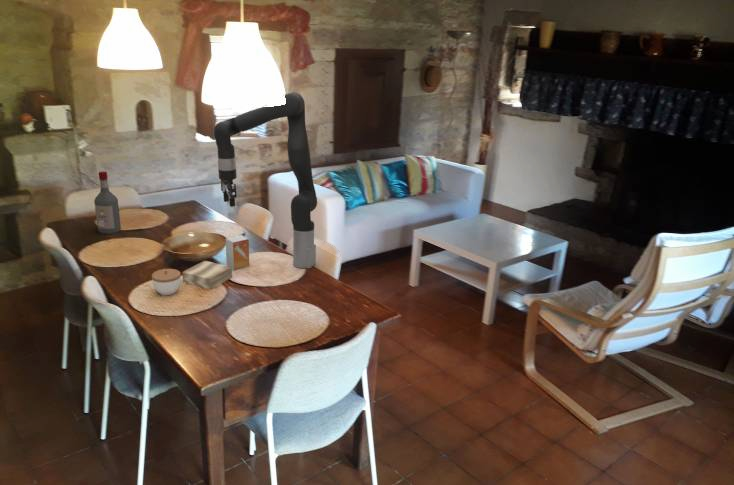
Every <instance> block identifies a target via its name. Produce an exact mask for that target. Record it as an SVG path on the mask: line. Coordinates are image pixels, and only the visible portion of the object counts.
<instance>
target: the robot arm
mask: <svg viewBox="0 0 734 485" xmlns="http://www.w3.org/2000/svg"><path fill="white" fill-rule="evenodd" d="M284 95H285V98H286V104H285V105H281V106H274V107H264V106H261V107H259V108H255V109H251V110H249V111H246V112H244V113H241V114H238V115H237V116H234V117H231V118H228V119H225V120H222V121H219V122H218V123H217V124H216V125H215V126H214V129H213V135H214V140H215V143H216V147H217V167H218V168H217V169H218V170H217V171H218V179H219V180H220V191H221V192H222V194H223V202H229V206H230V207H232V208H233V207H235V206H236V198H237V196H238V194H237V185H236V183H234V180H236V179H237V163H236V155H235V154H236V152H235V145H233V144H232V139H231V137H233V136H235V135H237V134H239V133H240V134H241V133H242V132H243V133H244V132H247V131H250V130H252V129H255V128H257V127H259V126H262V125H264V124H267V123H268V122H271V121H274V120H276V119H281V118H286V117H287V118H286V119H287V124H288V132H287V134H288V135H287V146H286V147H287V148H286V149H287V157H288V162H289V166H290V169H291V171H292V172H293V174H294V176H295V179H296V182H297V187H298V194H297V195H294V196H293V198H292V199H291V202H290V220H291V224H292V232H293V234H292V238H293V239H292V240H293V242H292V244H293V246H292V247H293V250H292V262H293V263H292V264H293V266H294V267H295V268H298V269H311V268H312V267H314V265H316V259H317V258H316V255H317V254H316V253H317V252H316V251H317V249H316V248H317V245H316V244H315V223H314V221H313V220H312V218H311V212H312V211H314V210H315V209H317V205H318V197H317V192H316V188H315V185H314V184H315V183H314V179H313V171H312V162H311V161H312V160H311V153H310V152H311V151H310V145H309V138H308V132H307V128H306V102H305V99H304V98H303V96H302V95H301V94H300V93H298V92H295V91H293V92H289V93H285V94H284Z"/></svg>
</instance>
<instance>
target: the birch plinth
mask: <svg viewBox="0 0 734 485" xmlns="http://www.w3.org/2000/svg"><path fill="white" fill-rule="evenodd" d="M232 271H233V269H232V267H229V266H227V265H225V264H220V263H215V262H212V261H208V260H203V261H202V262H199V263H197V264H195V265H193V266H191V267H190V268H187V269H186V270H184V271H182V273H181V274H182V282H183V283H184V282H185V284H188V285H191V286H195V287H200V288H202V289H207V290H210V291H211V290H212V289H214V288H216V287H217V286H219V285H221V284H223V283H225V282H227V281H228V280H230V279H231V278H233V272H232Z"/></svg>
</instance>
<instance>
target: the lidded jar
mask: <svg viewBox="0 0 734 485" xmlns="http://www.w3.org/2000/svg"><path fill="white" fill-rule="evenodd" d="M181 274H182V273H181V272H180V271H179V270H178V269H174V268H163V269H158V270H156V271H154V272H153V273H152V274H151V280H152V285H153V288H154V290H155V291H156V292H158V293H159V294H160V295H162V296H170V295H174V294H175V293H176V292H177V291H178V289H179V288H180V285H181V280H182V279H181Z"/></svg>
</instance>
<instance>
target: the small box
mask: <svg viewBox="0 0 734 485" xmlns="http://www.w3.org/2000/svg"><path fill="white" fill-rule="evenodd" d="M249 241H250V238H248V237H246V236H244V235H243V234H240V235H236V236H235V235H234V236H231V237H227V238H225V258H226V259H225V260H226V262H225V263H226V266H229V267H232V271H235V270H239V269H242V268H247V267H250V242H249Z"/></svg>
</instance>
